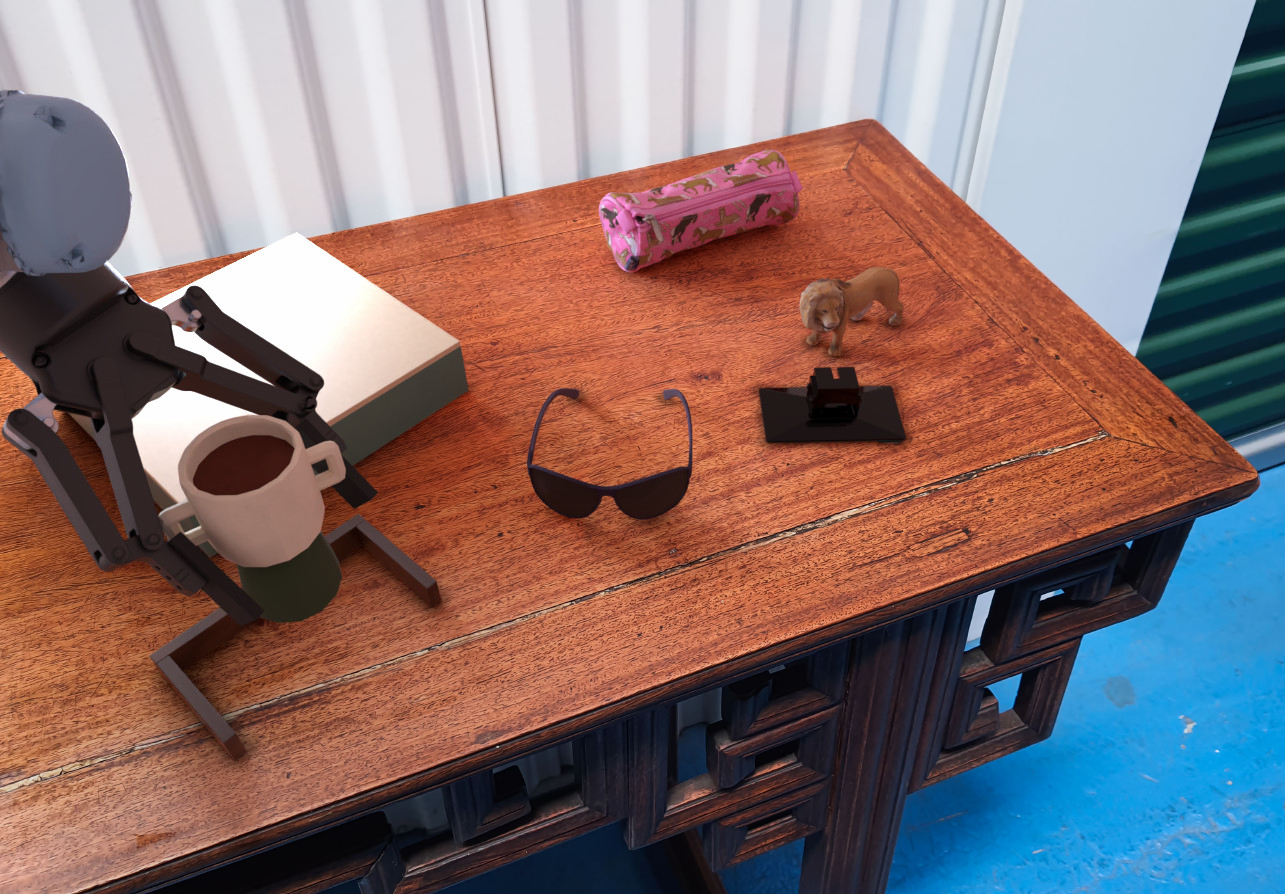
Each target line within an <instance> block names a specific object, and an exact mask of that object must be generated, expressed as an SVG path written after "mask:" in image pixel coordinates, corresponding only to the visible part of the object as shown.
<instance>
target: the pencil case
mask: <svg viewBox="0 0 1285 894" xmlns="http://www.w3.org/2000/svg"><path fill="white" fill-rule="evenodd" d="M803 189H804V188H803V186H802V183H801V180H800V178H799V176H798V173H797V171H796V170H793V171H792V172H791V169H790V166H789V164H788V162H787V160H786V158H785V156H784V154H782V152H780V151H778V150H776V149H764V150H761V151H760V152H756V153H755V152H754V153H752V154H751V155H748V156H746V157H745V158H743V159H742V160H740V161H739V162H736V163H729V164H726V165H725V164H724V165H721V166H718V167H714V168H712V169H711V168H710V169H708V170H706V171H703V172H700V173H698V174H695V175H691V176H689V177H685V178H683V179H680V180H677V181H675V182H671V183H668V184H665V185H661V186H659V187H655V188H651V189H648V190H645V191H642V192H614V191H613V192H608V193H607V194H606V195H605V196H604V197H602V199H600V201H599V205H598V215H599V220H600V224H601V226H602V229H603V234H604V238H605V240H606V245H607V248H609V250H610V251H611V253H612V255H613V258H614V260H615V262H616V263H617V265H618V267H619V268H620V269H621V270H623V271H624V272H626V273H630V274H633V273H636V272H638V271H639V270H640V269H643V268H646V267H650V266H651V265H653V264H658V263H660V262H662V260H666V259H669V258H671V257H672V256H673V255H674V254H676V253H679V252H682V251H686V250H690V249H694V248H698V247H701V246H704V245H705V244H707V243H710V242H712V241H715V240H718V239H722V238H726V237H730V236H732V235H733V236H735V235H737V234H743V233H745V232H748V231H752V230H755V229H759V228H763V227H764V226H783V225H785V224H788V223H791V222H793V221H794V220H796V219H797V217H798V214H799V212H800V197H799V193H800V192H802V191H803Z"/></svg>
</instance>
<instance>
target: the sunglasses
mask: <svg viewBox="0 0 1285 894" xmlns="http://www.w3.org/2000/svg"><path fill="white" fill-rule="evenodd" d="M662 395H663V398H664V400H665V401H668V400H671V399H672V398H674V397H677V398H678V399H679V400H680V401H681V403H682V406H683V408H684V410H685V415H686V420H687V430H688V433H687V434H688V443H689V444H688V462H687V466H684V465H683V466H682V465H681V466H678V467H675V468H671V469H667V470H664V471H660V472H658V473H655V474H651V475H648V476H644V477H642V478H639V479H635V480H632V481H628V482H624V483H620V484H616V485H599V484H593V483H590V482H587V481H585V480H580V479H577V478H575V477H571V476H569V475H566V474H563V473H560V472H557V471H555V470H553V469H551V468H546V467H544V466H541V465H538V464H536V463H535V464H534V463H533V460H534V454H535V451H536V444H537V440H538V436H539V433H540V429H541V425H542V422H543V419H544V417H545V414H546V412H547V410H548V409H549V406H550V405H551V404H552V402H553V401H554V400H555V399H556V398H558V397H561V396H563V397H565V398H570V399H572V400H577V399H578V398H579V396H580V390H579V389H578V388H569V387H562V388H557V389H556V390H554V391H552V392H551V393H550V394H549V396H547V398H546V400H545V401H544V403H542V406H541V408H540V410H539V413H538V414H537V417H536V420H535V423H534V427H533V430H532V434H531V438H530V443H529V448H528V451H527V456H526V468H527V469H526V470H527V474H528V477H529V481H530V483H531V487H532V489H533V492H534V493H535V495H536V497H538V498H539V500H540V501H541V502H542V503H543V504H544V505H545V506H546V507H547V508H548V509H550V510H552V511H553V512H555V513H556V514H559V515H561V516H563V517H567V518H568V519H569V518H570V519H574V520H575V519H578V520H581V519H585V518H587V517H589V516H592V514H594V513H595V512H596V511H597V509H598V508H599V506H600V505H601V503H602V500H603V497H611V498H612V499H613V501H614V503H615V506H616V507H618V509H619V510H620V511H621V512H622V513H623V514H624V515H625V516H627V517H628V518H631V519H634V520H638V521H641V520H650V519H654V518H657V517H660V516H662V515H664V514H666V513H668V512H670V511H671V510H673V509H674V508H675V507H677V506H678V504H680V502H681V501H682V500H683V499H684V498H685V496H686V494H687V492H688V489H689V485H690V479H691V478H692V474H693V460H694V459H693V453H694V452H693V451H694V450H693V444H694V443H693V441H694V440H693V421H692V415H691V410H690V406H689V402H688V401H687V398H686V396H685V395H684V394H683V392H682V391H680V390H679V389H676V388H670V389H669V388H667V389H663V390H662Z"/></svg>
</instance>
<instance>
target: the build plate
mask: <svg viewBox="0 0 1285 894" xmlns="http://www.w3.org/2000/svg"><path fill="white" fill-rule="evenodd" d="M832 369H833V368H832V367H831V366H830V367H829V366H824V367H823V366H822V367H821V366H819V367H813V372H812V375H809V379H808V382H807V383H806V386H794V387H793V386H790V387H789V386H788V387H759V389H758V396H759V404H760V409H761V410H760V411H761V417H762V423H763V431H764V439H765V443H766V444H768V445H771V444H823V443H825V444H827V443H828V444H829V443H873V442H875V443H878V444H881V445H883V444H886V445H887V444H891V445H893V444H900V443H902V442H905V441H906V440H907V439H906V438H907V436H906V431H905V428H904V425H903V422H902V418H901V414H900V410H899V407H898V404H897V400H896V396H895V393H894V389H893V387H892V386H891V385H860V384H859V380H858V376H857V371H856V367H855V366H837V367H836V374H837V378H834V373H833V370H832Z"/></svg>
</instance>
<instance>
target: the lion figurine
mask: <svg viewBox="0 0 1285 894" xmlns="http://www.w3.org/2000/svg"><path fill="white" fill-rule="evenodd" d="M900 284H901V283H900V278H899V275H898V273H897V272H896V271H895V270H894V269H892V268H889V267H883V266H873V267H869V268H867V269H866V270H864V271H863V272H861V273H860V274H858V275H856V276H855V277H853V278H851V279H848V280H846V281H843V279H840V278H830V277H826V278H823V277H822V278H819V279H817V280H815V281H812V282H810V284H808V285H807V286H806V288H805V289H804V290H803V291H802V292H801V294H800V300H799V309H798V310H799V312H800V317H801V322H802V323H803V325H804V327H805V328H806V329H807V330H811V332H812V333H811V335H807V337H806V340H805V343H806V344H807V345H809V346H812V347H813V346H816V345H817V344H818V343H819V342H820V339H821V336H822V335H827V334H829V333H831V332H832V333H833V334H832V339H831V342H830V347H829V348H828V354H829V356H830V357H838V358H839V357H840V356H841V354H842V349H843V339H844V335H845V333H846V331H847V330H846V329H847V324H848V319H851V320H852V321H854V322H855V321H856V322H857V321H860V320H862V319H863V318H864V317H865V315H866V314H867V313H868V312H869V311H870V309H872V307H873V305H874V302H873V301H877V302H878V303H879V304H880V305H881V306H883V308H885V310H888V311H890V312H894V315H892V316H890V317H889V318H888V324H889V325H891V326H894V327H897V326H900V325H901V323H902V320H903V312H904V303H902V302H901V300H900V299H899V297H900V290H901V289H900Z"/></svg>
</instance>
